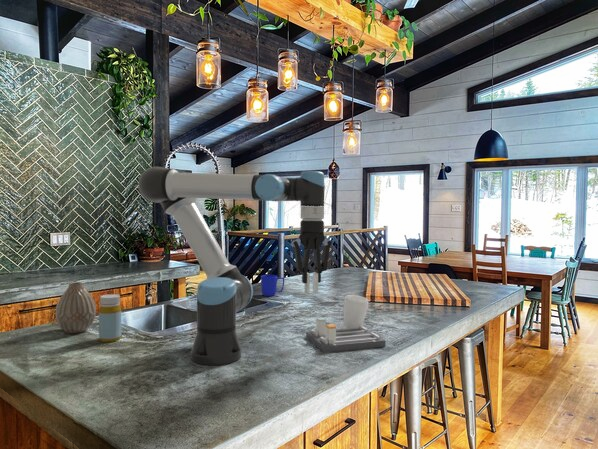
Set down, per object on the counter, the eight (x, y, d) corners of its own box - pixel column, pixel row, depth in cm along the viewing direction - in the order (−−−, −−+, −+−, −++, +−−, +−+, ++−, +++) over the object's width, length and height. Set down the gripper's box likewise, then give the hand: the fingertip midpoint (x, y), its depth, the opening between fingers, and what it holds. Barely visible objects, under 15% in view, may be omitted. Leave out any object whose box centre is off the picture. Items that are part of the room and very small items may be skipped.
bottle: (116, 335, 157) (116, 293, 156) (124, 339, 152) (124, 296, 151) (96, 339, 152) (95, 295, 151) (104, 344, 147) (103, 299, 146)
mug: (283, 297, 223) (284, 277, 223) (259, 296, 223) (260, 277, 223) (284, 293, 231) (284, 274, 231) (261, 293, 231) (261, 274, 231)
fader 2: (328, 342, 144) (329, 327, 144) (325, 339, 147) (325, 324, 147) (335, 341, 145) (336, 326, 145) (332, 338, 148) (332, 324, 147)
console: (323, 352, 141) (324, 343, 141) (305, 336, 157) (306, 328, 157) (385, 346, 147) (385, 337, 147) (362, 331, 164) (362, 323, 164)
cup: (362, 336, 161) (367, 304, 159) (337, 330, 163) (342, 298, 162) (365, 328, 169) (370, 298, 168) (342, 322, 172) (347, 292, 170)
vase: (50, 330, 161) (49, 283, 160) (87, 323, 170) (87, 278, 170) (63, 338, 152) (63, 288, 151) (102, 330, 162) (101, 283, 161)
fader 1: (319, 334, 153) (319, 320, 152) (316, 331, 155) (316, 317, 155) (325, 333, 153) (325, 319, 153) (322, 331, 156) (322, 317, 156)
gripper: (292, 220, 136) (292, 296, 137) (338, 220, 141) (337, 294, 142) (286, 219, 143) (285, 291, 144) (329, 219, 148) (328, 289, 149)
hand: (311, 292), depth 143 cm, fingers open, 2 cm apart
